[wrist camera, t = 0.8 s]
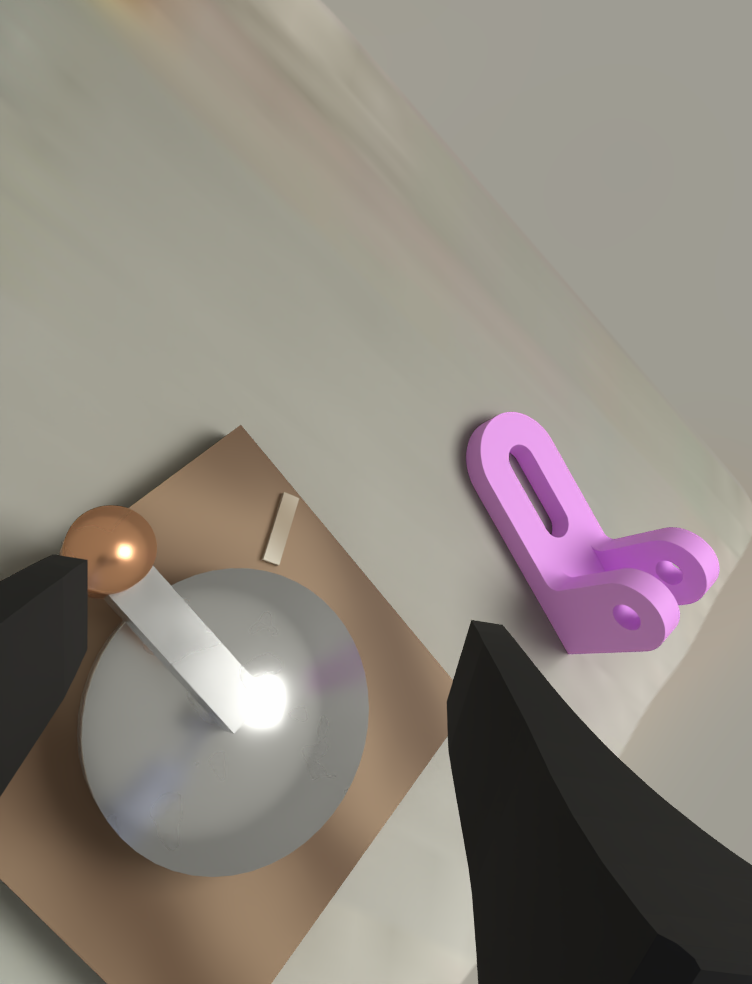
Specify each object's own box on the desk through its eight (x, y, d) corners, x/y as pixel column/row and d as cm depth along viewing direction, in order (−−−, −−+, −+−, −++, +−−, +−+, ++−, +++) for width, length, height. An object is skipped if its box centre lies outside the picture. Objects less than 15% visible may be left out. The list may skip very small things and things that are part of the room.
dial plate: (192, 1055, 22) (205, 1082, 21) (-159, 708, 20) (-173, 711, 18) (452, 701, 30) (474, 702, 29) (224, 428, 28) (236, 415, 27)
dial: (392, 705, 27) (448, 709, 24) (213, 930, 22) (251, 978, 18) (181, 458, 25) (208, 424, 22) (-68, 639, 20) (-84, 633, 17)
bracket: (620, 599, 38) (733, 585, 32) (566, 654, 35) (679, 650, 29) (511, 406, 37) (605, 355, 31) (447, 444, 34) (538, 396, 28)
